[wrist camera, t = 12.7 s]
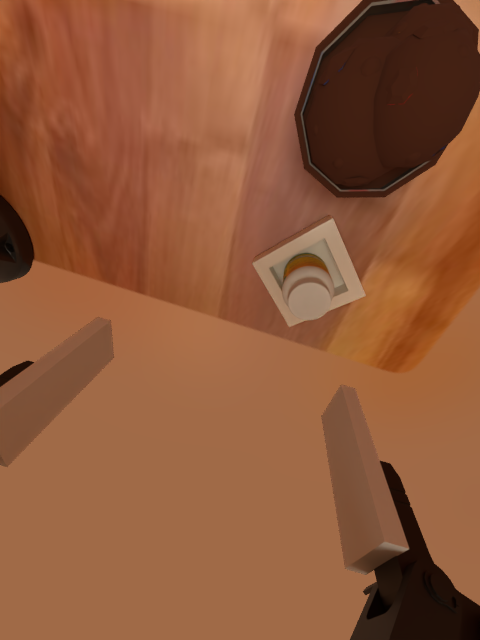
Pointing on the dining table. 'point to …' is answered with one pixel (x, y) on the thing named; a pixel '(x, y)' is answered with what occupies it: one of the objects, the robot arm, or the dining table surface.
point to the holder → (320, 242)
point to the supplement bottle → (307, 286)
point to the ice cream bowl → (387, 94)
